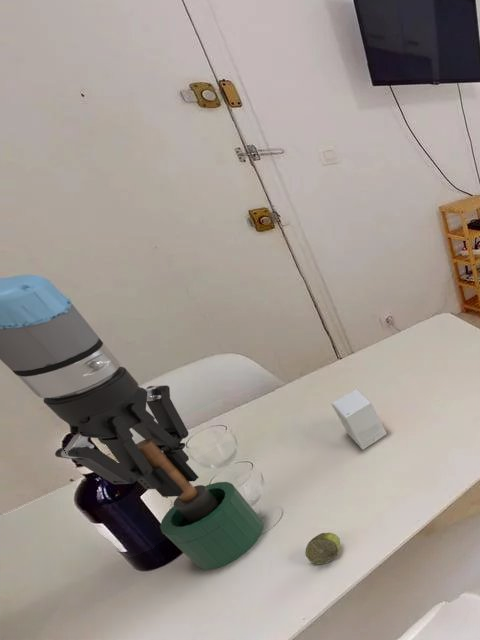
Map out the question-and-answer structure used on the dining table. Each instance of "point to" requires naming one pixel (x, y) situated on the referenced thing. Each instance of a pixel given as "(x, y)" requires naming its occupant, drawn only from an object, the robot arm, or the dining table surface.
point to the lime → (323, 548)
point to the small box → (359, 418)
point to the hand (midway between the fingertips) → (181, 486)
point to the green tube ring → (215, 529)
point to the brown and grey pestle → (181, 485)
